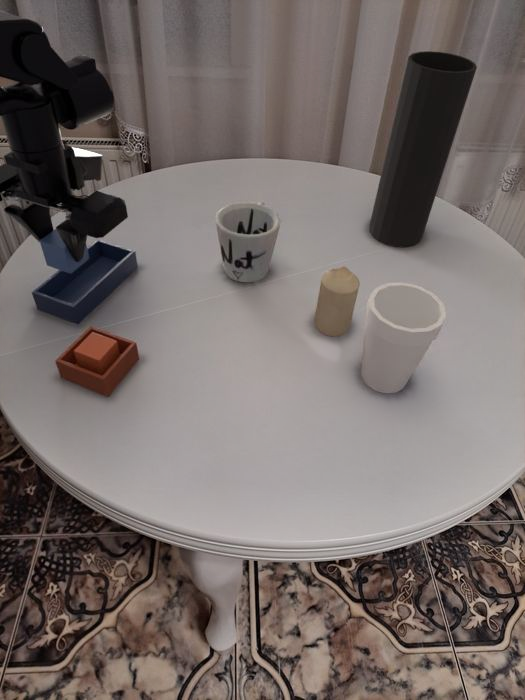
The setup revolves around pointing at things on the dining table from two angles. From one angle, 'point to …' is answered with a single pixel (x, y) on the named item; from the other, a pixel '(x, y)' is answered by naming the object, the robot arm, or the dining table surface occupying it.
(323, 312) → the candle
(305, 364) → the dining table surface
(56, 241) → the slate block
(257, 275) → the mug
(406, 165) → the vase
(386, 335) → the foam cup
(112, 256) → the slate bin
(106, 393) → the terracotta bin
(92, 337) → the terracotta block
